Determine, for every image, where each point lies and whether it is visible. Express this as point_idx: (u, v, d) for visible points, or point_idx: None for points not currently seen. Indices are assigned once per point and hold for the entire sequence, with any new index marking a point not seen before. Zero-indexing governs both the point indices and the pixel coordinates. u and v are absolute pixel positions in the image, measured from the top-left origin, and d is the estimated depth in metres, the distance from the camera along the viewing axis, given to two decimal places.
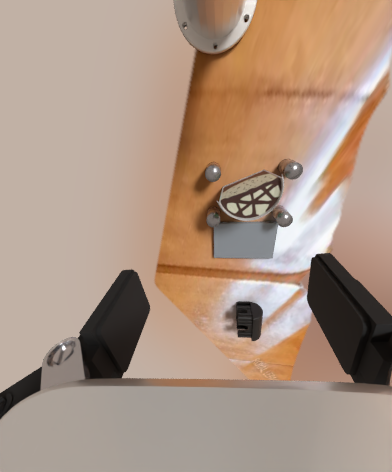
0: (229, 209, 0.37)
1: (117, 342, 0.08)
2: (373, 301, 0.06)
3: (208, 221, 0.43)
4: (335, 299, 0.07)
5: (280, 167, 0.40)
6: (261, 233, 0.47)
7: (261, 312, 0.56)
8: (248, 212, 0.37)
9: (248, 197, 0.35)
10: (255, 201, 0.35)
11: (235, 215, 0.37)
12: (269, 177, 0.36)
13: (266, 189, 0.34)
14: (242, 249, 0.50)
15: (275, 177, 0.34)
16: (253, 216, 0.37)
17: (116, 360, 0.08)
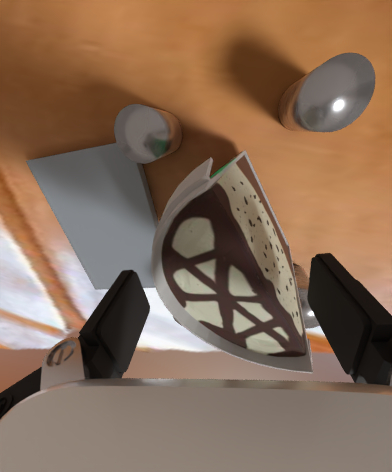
0: (183, 227, 0.08)
1: (117, 342, 0.08)
2: (373, 301, 0.06)
3: (132, 114, 0.11)
4: (335, 299, 0.07)
5: (294, 271, 0.19)
6: (143, 263, 0.21)
7: None
8: (185, 284, 0.10)
9: (243, 289, 0.09)
10: (229, 303, 0.10)
11: (164, 249, 0.09)
12: (294, 299, 0.13)
13: (271, 327, 0.10)
14: (86, 231, 0.20)
15: (301, 327, 0.12)
16: (176, 295, 0.11)
17: (116, 360, 0.08)
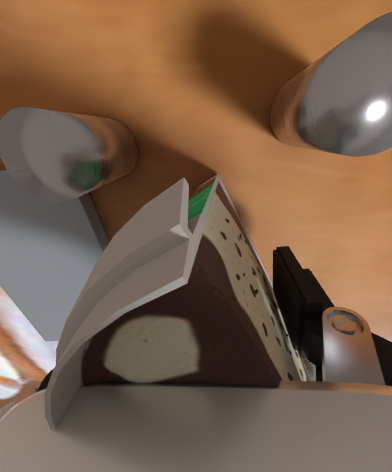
0: (125, 335, 0.04)
1: None
2: (310, 285, 0.07)
3: (21, 124, 0.06)
4: (285, 285, 0.09)
5: None
6: None
7: None
8: None
9: None
10: None
11: (86, 373, 0.04)
12: None
13: None
14: (21, 275, 0.15)
15: None
16: None
17: None
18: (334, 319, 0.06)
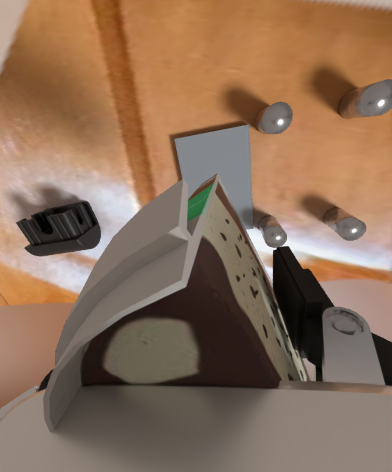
0: (124, 337, 0.04)
1: None
2: (310, 285, 0.07)
3: (277, 107, 0.21)
4: (285, 285, 0.09)
5: (340, 210, 0.29)
6: None
7: (93, 246, 0.33)
8: None
9: None
10: None
11: (86, 375, 0.04)
12: None
13: None
14: None
15: None
16: None
17: None
18: (334, 319, 0.06)
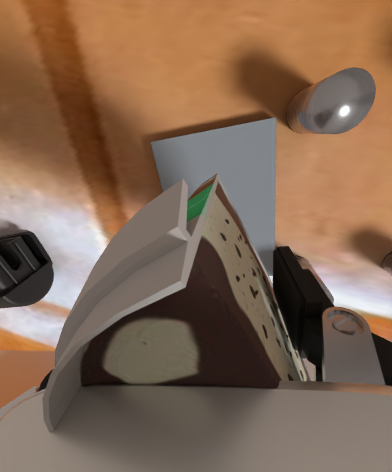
0: (124, 337, 0.04)
1: None
2: (311, 285, 0.07)
3: (345, 78, 0.10)
4: (285, 285, 0.09)
5: None
6: None
7: (37, 299, 0.22)
8: None
9: None
10: None
11: (85, 375, 0.04)
12: None
13: None
14: None
15: None
16: None
17: None
18: (334, 319, 0.06)
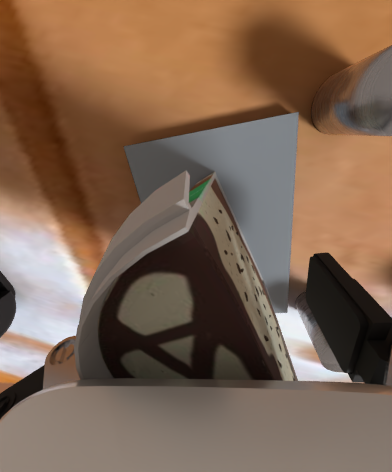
0: (137, 289, 0.05)
1: None
2: (370, 300, 0.06)
3: None
4: (333, 298, 0.07)
5: None
6: None
7: None
8: (141, 370, 0.06)
9: (237, 379, 0.06)
10: None
11: (102, 323, 0.05)
12: (286, 357, 0.10)
13: None
14: None
15: None
16: None
17: None
18: None
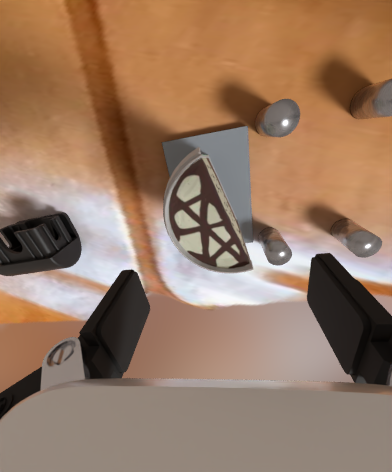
0: (184, 182, 0.16)
1: (117, 342, 0.08)
2: (373, 301, 0.06)
3: (282, 105, 0.17)
4: (335, 299, 0.07)
5: (349, 222, 0.26)
6: None
7: (71, 264, 0.29)
8: (181, 221, 0.18)
9: (215, 218, 0.17)
10: (206, 232, 0.18)
11: (171, 196, 0.17)
12: (241, 239, 0.21)
13: (230, 246, 0.18)
14: None
15: (246, 252, 0.20)
16: (174, 232, 0.18)
17: (116, 360, 0.08)
18: None
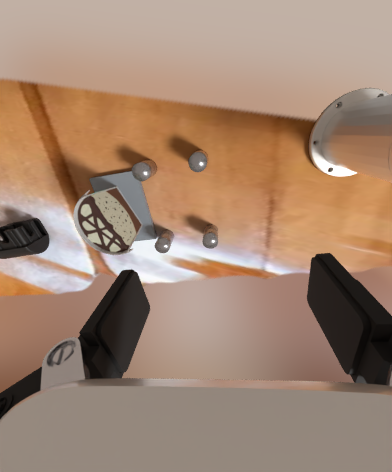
0: (82, 207, 0.32)
1: (117, 342, 0.08)
2: (373, 301, 0.06)
3: (138, 165, 0.33)
4: (335, 299, 0.07)
5: (210, 226, 0.41)
6: None
7: (41, 251, 0.45)
8: (86, 226, 0.34)
9: (101, 225, 0.33)
10: (100, 232, 0.34)
11: (78, 214, 0.33)
12: (130, 236, 0.37)
13: (114, 240, 0.34)
14: None
15: (129, 243, 0.36)
16: (84, 232, 0.34)
17: (116, 360, 0.08)
18: None
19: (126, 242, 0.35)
